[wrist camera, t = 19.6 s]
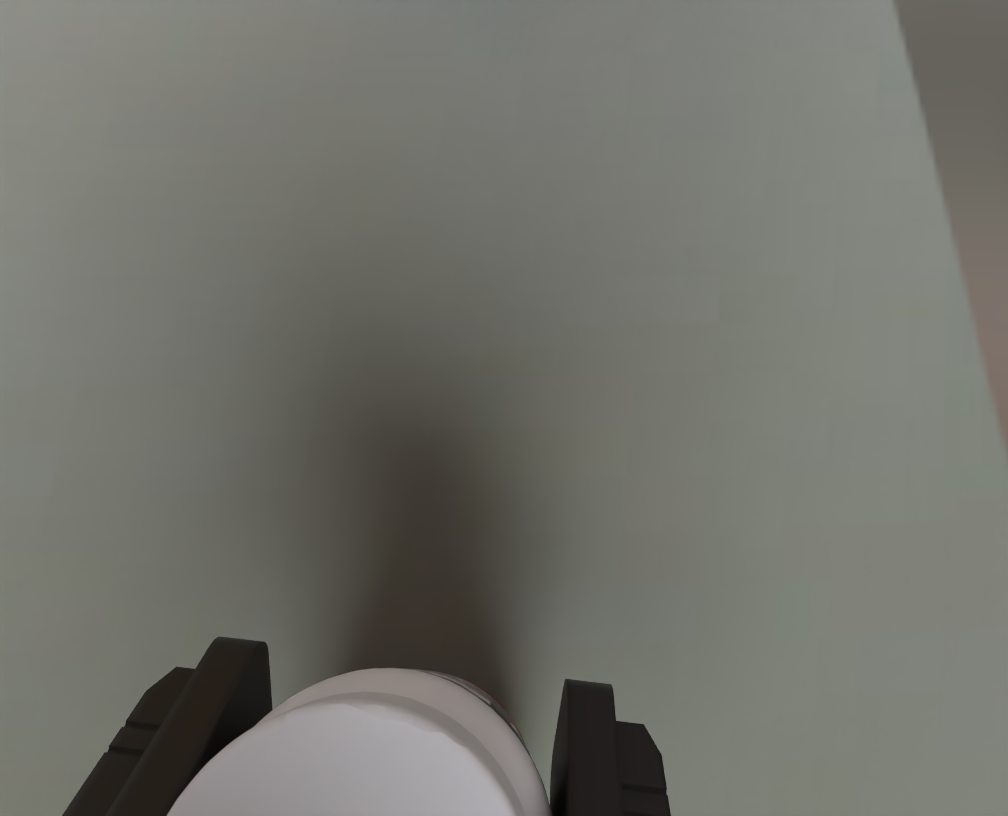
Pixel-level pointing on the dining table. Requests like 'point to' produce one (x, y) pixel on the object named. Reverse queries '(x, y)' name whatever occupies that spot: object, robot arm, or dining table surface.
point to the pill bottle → (374, 754)
